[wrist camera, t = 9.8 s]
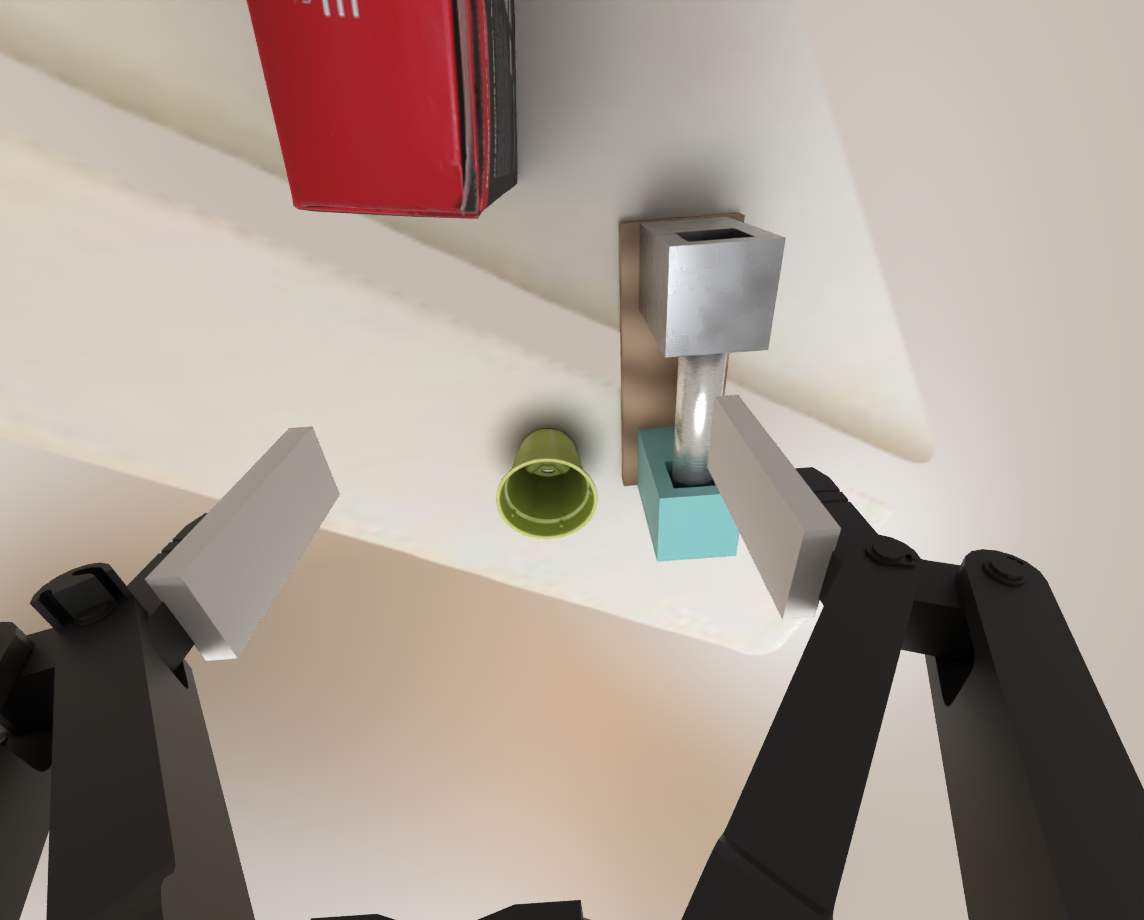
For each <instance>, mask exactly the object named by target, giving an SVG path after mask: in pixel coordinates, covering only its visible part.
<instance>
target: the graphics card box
mask: <svg viewBox="0 0 1144 920" xmlns="http://www.w3.org/2000/svg"><path fill="white" fill-rule="evenodd" d="M247 4H248V8H249V12H250V16H251V21H252V25H253V29H254V33H255V38H256V42H257V46H258V51H259V55H260V59H261V64H262V68H263V72H264V77H265V81H266V85H267V90H268V94H269V98H270V103H271V107H272V111H273V116H274V120H275V124H276V129H277V133H278V137H279V142H280V146H281V150H282V155H283V159H284V163H285V168H286V172H287V176H288V181H289V185H290V190H291V194H292V199H293V205H294V207H296V208H297V209H300V210H308V211H318V212H319V211H320V212H336V213H354V214H372V215H392V216H412V217H439V218H467V219H478V218H479V216H480V214H481V212H482V211H483V210H484V209H486V208H487V207H488V206H489V205H491V204H492V203H493V202H494V201H495V200H497V199H498V198H499V197H500V196H501V195H503V194H504V193H505V192H507V191H508V190H510V189H511V188H512V187H514V186H515V185H516V184H517V128H516V119H517V118H516V79H515V78H516V74H515V73H516V69H515V14H514V0H247Z"/></svg>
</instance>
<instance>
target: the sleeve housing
mask: <svg viewBox="0 0 1144 920" xmlns="http://www.w3.org/2000/svg"><path fill="white" fill-rule="evenodd" d="M784 245H785V237H782V236H779V235H776V234H773V233H771V232H768V231H765V230H762V229H760V228H757V227H754V226H751V225H748V224H746V223H743V222H740V221H737V220H735V219H732V218H729V217H713V218H700V219H687V220H674V221H660V222H647V223H640V253H639V311H640V313H641V315H642V317H643V318H644V320H645V322H646V324H647V326H648V327H649V329H650V331H651V333H652V335H653V336H654V338H655V340H656V342H657V344H658V345H659V347H660V349H661V351H662V353H663V354H664V356H665V358H666V357H679V356H692V355H706V354H719V353H732V352H746V351H759V350H768V347H769V340H770V334H771V328H772V321H773V315H774V308H775V302H776V296H777V289H778V283H779V277H780V270H781V264H782V257H783V251H784Z"/></svg>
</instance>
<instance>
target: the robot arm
mask: <svg viewBox="0 0 1144 920" xmlns="http://www.w3.org/2000/svg"><path fill="white" fill-rule="evenodd" d="M707 468H708V470H709V472H710V474H711V476H712V478H713V480H714V482H715V484H716V486H717V488H718V490H719V492H720V494H721V496H722V498H723V500H724V502H725V504H726V506H727V508H728V510H729V512H730V514H731V516H732V518H733V520H734V522H735V524H736V526H737V528H738V530H739V532H740V534H741V536H742V538H743V540H744V542H745V544H746V546H747V548H748V550H749V553H750V555H751V557H752V559H753V561H754V563H755V565H756V567H757V569H758V571H759V573H760V575H761V577H762V579H763V581H764V583H765V585H766V587H767V589H768V591H769V593H770V595H771V597H772V599H773V601H774V603H775V605H776V607H777V609H778V611H779V613H780V615H781V617H782V619H793V618H807V617H815V614H816V610H817V607H818V604H819V601H820V600H821V602H822V604H823V605H824V607H823V609H822V612H821V614H820V616H819V619H818V621H817V623H816V625H815V627H814V630H813V632H812V634H811V637H810V639H809V641H808V643H807V646H806V648H805V650H804V652H803V655H802V657H801V659H800V662H799V664H798V666H797V668H796V671H795V673H794V675H793V677H792V680H791V682H790V684H789V686H788V689H787V691H786V693H785V696H784V698H783V700H782V702H781V705H780V707H779V709H778V711H777V714H776V716H775V718H774V721H773V723H772V725H771V727H770V730H769V732H768V734H767V737H766V739H765V741H764V743H763V746H762V748H761V750H760V752H759V755H758V757H757V759H756V761H755V764H754V766H753V768H752V771H751V773H750V775H749V777H748V780H747V782H746V784H745V787H744V789H743V791H742V793H741V796H740V798H739V800H738V802H737V805H736V807H735V809H734V811H733V814H732V816H731V818H730V821H729V823H728V825H727V827H726V829H725V831H724V833H723V835H722V836H721V837H720V838H719V839H718V841H717V843H716V845H715V847H714V849H713V851H712V853H711V855H710V857H709V859H708V861H707V863H706V866H705V868H704V870H703V872H702V875H701V877H700V879H699V881H698V884H697V886H696V888H695V890H694V893H693V895H692V897H691V899H690V902H689V904H688V906H687V908H686V911H685V913H684V915H683V917H682V920H833V910H834V905H835V901H836V897H837V893H838V889H839V885H840V881H841V878H842V874H843V870H844V866H845V862H846V858H847V854H848V851H849V846H850V843H851V839H852V835H853V831H854V828H855V824H856V820H857V816H858V812H859V808H860V805H861V801H862V797H863V793H864V789H865V785H866V781H867V778H868V774H869V770H870V766H871V762H872V758H873V755H874V751H875V747H876V743H877V739H878V735H879V732H880V728H881V724H882V720H883V716H884V712H885V708H886V705H887V701H888V697H889V693H890V689H891V685H892V682H893V678H894V674H895V670H896V666H897V662H898V659H899V655H900V651H901V650H906V651H911V652H916V653H921V654H925V658H926V663H927V669H928V676H929V682H930V688H931V693H932V699H933V706H934V712H935V718H936V724H937V730H938V736H939V742H940V748H941V754H942V761H943V766H944V772H945V779H946V785H947V791H948V797H949V802H950V809H951V815H952V820H953V827H954V833H955V839H956V845H957V851H958V857H959V863H960V869H961V875H962V882H963V888H964V894H965V900H966V906H967V912H968V918H969V920H1144V789H1143V787H1142V785H1141V782H1140V780H1139V778H1138V776H1137V774H1136V772H1135V770H1134V767H1133V765H1132V763H1131V761H1130V759H1129V756H1128V754H1127V752H1126V750H1125V748H1124V746H1123V744H1122V742H1121V740H1120V737H1119V735H1118V733H1117V731H1116V728H1115V726H1114V724H1113V722H1112V720H1111V718H1110V716H1109V713H1108V711H1107V709H1106V707H1105V705H1104V703H1103V700H1102V698H1101V696H1100V694H1099V692H1098V690H1097V687H1096V685H1095V683H1094V681H1093V679H1092V677H1091V675H1090V672H1089V670H1088V668H1087V666H1086V664H1085V662H1084V660H1083V657H1082V655H1081V653H1080V651H1079V649H1078V647H1077V644H1076V642H1075V640H1074V638H1073V636H1072V634H1071V632H1070V629H1069V627H1068V625H1067V623H1066V621H1065V618H1064V617H1063V614H1062V612H1061V610H1060V608H1059V606H1058V603H1057V601H1056V599H1055V597H1054V595H1053V593H1052V591H1051V588H1050V587H1049V584H1048V582H1047V580H1046V579H1045V578H1044V577H1043V575H1042V574H1041V572H1040V571H1038V570H1037V569H1036V568H1034V567H1033V566H1032V565H1030V564H1029V563H1028V562H1026V561H1024V560H1022V559H1020V558H1017V557H1015V556H1013V555H1010V554H1007V553H1003V552H1000V551H995V550H984V549H981V550H976V551H971V552H970V553H969V554H968V555H966V556H965V558H964V560H963V562H962V564H961V565H954V564H947V563H941V562H934V561H928V560H923V559H920V557H919V556H918V554H917V553H916V552H915V551H914V550H913V549H912V548H910V547H909V546H907V545H906V544H905V543H903V542H901V541H898V540H896V539H894V538H891V537H887V536H882V535H878V534H877V533H876V531H875V530H874V529H873V528H872V527H871V526H870V524H869V523H868V522H867V521H866V520H865V519H864V517H863V516H862V515H861V514H860V513H859V512H858V510H857V509H856V508H855V507H854V506H853V505H852V503H851V502H848V499H847V498H846V496H845V495H844V494H843V493H842V492H840V491H839V488H838V487H837V486H836V485H835V484H834V482H833V481H832V480H831V479H830V478H829V477H828V476H826V475H824V474H823V473H821V472H820V471H818V470H816V469H815V468H813V467H809V468H796V469H795V468H794V467H793V465H792V464H791V463H790V461H789V460H788V459H787V458H786V456H785V455H784V454H783V452H782V451H781V450H780V448H779V447H778V446H777V445H776V443H775V442H774V441H773V440H772V438H771V437H770V436H769V434H768V433H767V432H766V431H765V429H764V428H763V427H762V425H761V424H760V423H759V421H758V420H757V419H756V417H755V416H754V415H753V414H752V412H751V411H750V410H749V408H748V407H747V406H746V404H745V403H744V402H743V401H742V399H741V398H740V397H739V395H730V396H717V397H715V398H714V408H713V417H712V427H711V437H710V447H709V457H708V467H707ZM339 495H340V494H339V492H338V489H337V487H336V484H335V482H334V479H333V477H332V474H331V472H330V469H329V467H328V464H327V462H326V459H325V457H324V454H323V452H322V449H321V447H320V444H319V442H318V439H317V437H316V434H315V432H314V429H313V427H301V428H289V429H288V430H287V431H286V432H285V433H284V434H283V435H282V436H281V437H280V438H279V439H278V441H277V442H276V443H275V444H274V445H273V446H272V447H271V448H270V449H269V450H268V451H267V452H266V453H265V454H264V455H263V456H262V457H261V458H260V459H259V460H258V461H257V462H256V463H255V465H254V466H253V467H252V468H251V469H250V470H249V471H248V472H247V473H246V474H245V475H244V476H243V477H242V478H241V479H240V480H239V481H238V482H237V483H236V484H235V485H234V486H233V488H232V489H231V490H230V491H229V492H228V493H227V494H226V495H225V496H224V497H223V498H222V499H221V500H220V501H219V502H218V503H217V504H216V505H215V506H214V507H213V508H212V509H211V510H210V512H209V513H205V514H203V515H202V516H200V517H199V518H197V519H196V520H194V521H193V522H191V523H190V524H188V525H187V526H185V527H184V529H182V531H180V533H179V534H178V535H177V536H176V537H175V538H174V539H173V542H170V543H169V544H168V545H167V546H166V547H165V548H164V549H163V550H162V553H161V554H158V555H157V556H156V557H155V558H154V559H153V560H152V561H151V562H150V563H149V564H148V565H147V566H146V567H145V568H144V569H143V570H142V571H141V572H140V573H139V574H138V575H137V576H136V577H135V578H134V579H133V580H132V581H131V582H130V583H129V585H127V586H126V585H125V584H124V582H123V581H122V580H121V579H120V577H119V576H118V575H117V573H116V572H115V571H114V570H113V569H112V567H111V566H110V565H109V564H105V563H94V564H88V565H85V566H81V567H78V568H75V569H72V570H70V571H68V572H66V573H64V574H62V575H60V576H58V577H56V578H55V579H53V580H52V581H50V582H49V583H47V584H46V585H44V586H43V587H42V588H41V589H40V590H39V591H38V592H37V593H36V594H34V596H33V598H32V600H31V602H30V604H31V605H32V606H33V607H34V608H35V609H36V610H37V611H38V612H39V613H40V615H41V616H42V617H43V618H44V619H45V620H46V621H47V622H48V623H49V624H50V625H51V626H52V627H53V628H51V629H48V630H44V631H40V632H37V633H34V634H30V635H25V634H24V633H23V632H22V631H21V630H20V629H19V628H18V627H17V626H16V625H15V624H14V623H12V622H0V920H19V919H20V916H21V913H22V910H23V907H24V904H25V901H26V898H27V895H28V892H29V889H30V886H31V883H32V880H33V877H34V874H35V871H36V868H37V865H38V862H39V859H40V856H41V853H42V850H43V847H44V844H45V841H46V838H47V835H48V832H50V833H49V861H48V862H49V863H48V890H47V891H48V892H47V920H255V918H254V914H253V910H252V906H251V902H250V898H249V895H248V890H247V886H246V882H245V878H244V874H243V871H242V867H241V863H240V859H239V855H238V851H237V847H236V843H235V839H234V835H233V831H232V827H231V823H230V819H229V815H228V811H227V807H226V803H225V799H224V795H223V791H222V788H221V784H220V780H219V776H218V772H217V768H216V764H215V760H214V756H213V752H212V748H211V744H210V741H209V736H208V732H207V728H206V725H205V720H204V717H203V713H202V709H201V705H200V701H199V697H198V693H197V689H196V685H195V681H194V677H193V673H192V669H191V667H190V666H189V664H188V663H187V662H186V661H185V660H184V658H185V656H186V655H187V654H188V652H189V651H190V650H191V648H192V647H193V645H195V647H196V648H197V649H198V651H199V652H200V653H201V655H202V656H203V657H204V659H205V660H206V661H207V660H221V659H236V658H238V657H239V655H240V654H241V652H242V651H243V649H244V647H245V646H246V644H247V642H248V641H249V639H250V638H251V636H252V634H253V633H254V631H255V630H256V628H257V626H258V625H259V623H260V622H261V620H262V618H263V617H264V615H265V613H266V612H267V610H268V609H269V607H270V606H271V604H272V602H273V601H274V599H275V598H276V596H277V594H278V593H279V591H280V590H281V588H282V586H283V585H284V583H285V582H286V580H287V578H288V577H289V575H290V574H291V572H292V570H293V569H294V567H295V565H296V564H297V562H298V561H299V559H300V557H301V556H302V554H303V553H304V551H305V549H306V548H307V546H308V545H309V543H310V541H311V540H312V538H313V537H314V535H315V533H316V532H317V530H318V529H319V527H320V525H321V524H322V522H323V521H324V519H325V517H326V516H327V514H328V513H329V511H330V509H331V508H332V506H333V505H334V503H335V501H336V500H337V498H338V497H339ZM311 920H394V919H391V918H388V917H385V916H382V915H378V914H370V915H355V916H341V917H327V918H312V919H311ZM478 920H589V919H586V918H583V912H582V906H581V900H574V901H560V902H545V903H531V904H516V905H512V906H510V907H507V908H505V909H502V910H500V911H498V912H496V913H493V914H491V915H488V916H486V917H483V918H481V919H478Z"/></svg>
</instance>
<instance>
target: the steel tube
mask: <svg viewBox="0 0 1144 920" xmlns="http://www.w3.org/2000/svg"><path fill="white" fill-rule="evenodd" d="M726 357H727V353H719V354H706V355H692V356H679V357H678V375H677V394H676V412H675V431H674V449H673V467H672V485H673V488H674V489H676V488H690V487H703V486H712V485H713V478H712V476H711V474H710V472H709V470H708V468H707V467H708V457H709V447H710V437H711V427H712V417H713V408H714V398H715V397H717V396H722V394H723V385H724V376H725V366H726Z"/></svg>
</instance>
